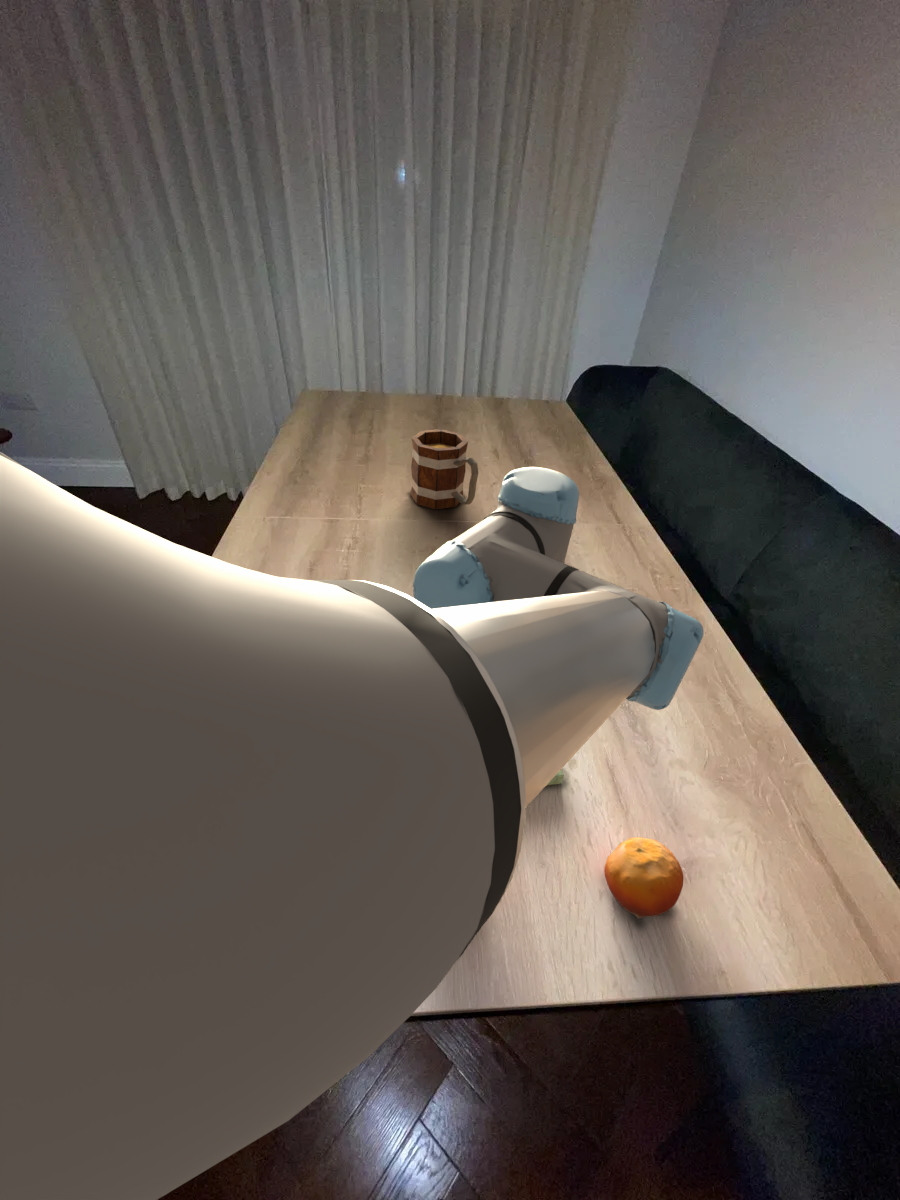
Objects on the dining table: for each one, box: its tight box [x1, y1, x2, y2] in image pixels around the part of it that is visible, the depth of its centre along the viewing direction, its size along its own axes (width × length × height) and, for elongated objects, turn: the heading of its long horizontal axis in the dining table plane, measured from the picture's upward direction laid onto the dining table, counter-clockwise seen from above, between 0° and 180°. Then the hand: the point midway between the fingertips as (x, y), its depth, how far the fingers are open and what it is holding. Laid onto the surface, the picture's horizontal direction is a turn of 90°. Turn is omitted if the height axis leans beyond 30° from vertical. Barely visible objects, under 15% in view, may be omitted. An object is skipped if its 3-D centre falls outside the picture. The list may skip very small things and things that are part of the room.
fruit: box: [603, 836, 684, 921], centre depth 59 cm, size 8×8×8 cm
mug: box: [410, 428, 479, 510], centre depth 128 cm, size 20×14×15 cm
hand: (495, 728), depth 72 cm, fingers open, 13 cm apart
